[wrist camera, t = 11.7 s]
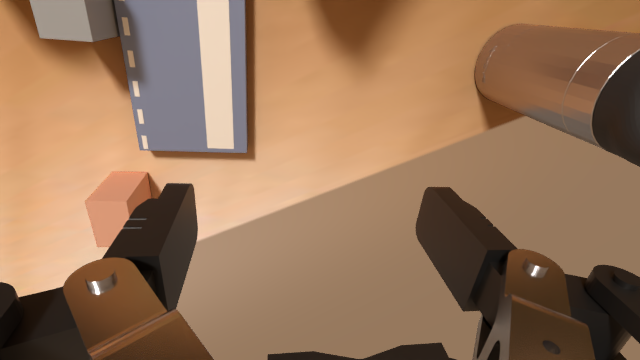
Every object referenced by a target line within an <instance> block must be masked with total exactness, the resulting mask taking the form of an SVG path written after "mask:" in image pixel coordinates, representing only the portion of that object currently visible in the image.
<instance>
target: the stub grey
mask: <svg viewBox="0 0 640 360" xmlns="http://www.w3.org/2000/svg"><path fill="white" fill-rule="evenodd" d="M30 4H31V7H32V11H33V15H34V18H35V22H36V25H37V29H38V33H39V36H40V38H45V39H58V40H72V41H86V42H95V41H100V40H104V39H109V38H113V37H118V36H120V33H119V27H118V21H117V15H116V10H115V4H114V0H30Z"/></svg>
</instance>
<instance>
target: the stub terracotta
mask: <svg viewBox="0 0 640 360" xmlns="http://www.w3.org/2000/svg"><path fill="white" fill-rule="evenodd" d="M147 199H152V197H151V191H150V185H149V179H148V174H147V172H112V173H111V174H110V175H109V176H108V177H107V178H106V179H105V180H104V181H103V182H102V183H101V185H100V186H99V187H98V188H97V189H96V190H95V191H94V192H93V193H92V194H91V195H90V196H89V197H88V199H87V200H86V201H85V204H86V207H87V211H88V215H89V218H90V222H91V226H92V229H93V233H94V236H95V240H96V244H97V247H110V246H111V244H112V243H113V241H114V240H115V238H116V237H117V235H118V234H119V232H120V231H121V229H123V226H124V224H125V223H126V221H127V220H129V217H130V215H131V214H132V212H133V211H134V209H135V208H136V207H137V206H138V205H140V204H141V203H143V202H144V201H146V200H147Z"/></svg>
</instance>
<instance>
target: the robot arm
mask: <svg viewBox="0 0 640 360" xmlns="http://www.w3.org/2000/svg"><path fill="white" fill-rule="evenodd" d="M475 81H476V85H477V87H478V89H479V91H480V92H481V94H482V95H483V96H484V97H486V98H488V99H489V100H491V101H494V102H496V103H498V104H501V105H503V106H505V107H507V108H509V109H512V110H514V111H516V112H519V113H521V114H523V115H525V116H528V117H530V118H533V119H535V120H537V121H539V122H542V123H544V124H546V125H549V126H551V127H553V128H556V129H558V130H560V131H562V132H565V133H567V134H570V135H572V136H574V137H576V138H579V139H581V140H584V141H586V142H589V143H590V144H593V145H595V146H597V147H600V148H602V149H604V150H606V151H608V152H611V153H613V154H615V155H618V156H620V157H622V158H624V159H626V160H627V161H629V162H631V163H633V164H635V165H637V166H639V167H640V33H627V32H615V31H603V30H590V29H578V28H566V27H553V26H542V25H529V24H516V25H511V26H509V27H506V28H504V29H502V30H501V31H499V32H497V33H496V34H495V35H494V36H493V37H492V38H491V39H490V40H489V41H488V42H487V43H486V45H485V46H484V47H483V49H482V51H481V53H480V54H479V57H478V60H477V62H476V68H475ZM197 231H198V226H197V215H196V205H195V194H194V187H193V185H192V184H178V183H168V184H166V186H165V187H164V189H163V191H162V193H161V194H160V196H159V198H158V199H147V200H146V201H144V202H143V203H141V204H140V205H138V206H137V207H136V208H135V209H134V211H133V212H132V214H131V215H130V217H129V220H127V221H126V223H125V224H124V226H123V229H121V231H120V232H119V234H118V235H117V237H116V238H115V240H114V241H113V243H112V244H111V246H110V247H109V249H108V250H107V252H106V253H105V255H104V256H103V258H102V259H100V260H96V261H93V262H91V263H88V264H86V265H84V266H82V267H81V268H79V269H77V270H76V271H75V272H74V273H72V274H71V275H70V276H69V277H68V279H67V280H66V281H65V283H64V286H63V287H60V288H56V289H52V290H48V291H44V292H40V293H35V294H31V295H27V296H23V297H18V295H17V293H16V291H15V289H14V288H13V286H11V285H9V284H7V283H2V282H0V360H214V359H213V357H212V356H211V355H210V353H209V352H208V351H207V349H206V348H205V347H204V345H203V344H202V342H201V341H200V340H199V338H198V337H197V336H196V334H195V333H194V332H193V330H192V329H191V327H190V326H189V325H188V323H187V322H186V321H185V319H184V318H183V317H182V315H181V314H180V313H179V312H178V311H177V310H176V307H177V303H178V300H179V296H180V293H181V290H182V287H183V284H184V280H185V277H186V274H187V271H188V267H189V264H190V261H191V258H192V254H193V251H194V248H195V244H196V240H197ZM416 235H417V238H418V240H419V242H420V244H421V245H422V247H423V249H424V250H425V252H426V253H427V255H428V256H429V258H430V260H431V261H432V263H433V264H434V266H435V267H436V269H437V271H438V272H439V274H440V275H441V277H442V279H443V280H444V282H445V283H446V285H447V286H448V288H449V290H450V291H451V293H452V295H453V296H454V298H455V299H456V301H457V302H458V304H459V306H460V307H461V309H462V310H463V311H480V312H481V313H482V315H481V318H480V320H479V323H478V328H477V335H476V341H475V347H474V353H473V359H472V360H626V358H624V356H623V355H622V354H621V353H620V350H621V349H622V347H623V346H624V345H625V344H626V342H627V341H628V340H629V338H630V337H631V336H633V337H634V338H635V339H636V340H637V341H638V342H639V343H640V277H638V276H636V275H634V274H633V273H630V272H628V271H626V270H623V269H621V268H617V267H614V266H609V265H598V266H595V267H594V268H593V270H592V272H591V273H590V275H589V277H588V278H583V277H578V276H573V275H568V274H564V272H563V270H562V269H561V268H560V266H558V265H557V264H556V263H555V262H554V261H552V260H551V259H549V258H547V257H546V256H544V255H541V254H539V253H537V252H534V251H530V250H525V249H517V248H516V247H515V246H514V245H513V244H512V243H511V242H510V241H509V240H508V239H507V238H506V237H505V236H504V235H503V234H502V233H501V232H500V231H499V230H498V229H497V228H496V227H493V224H492V223H491V222H490V221H489V220H488V219H486V217H485V216H484V215H483V214H482V213H481V212H480V211H479V210H478V209H477V208H475V207H473V206H472V205H470V204H468V203H467V202H465V201H463V200H462V199H461V198H460V197H459V196H458V195H457V194H456V193H455V192H454V191H453V190H452V189H451V188H450V187H428V188H427V189H426V190H425V192H424V195H423V199H422V203H421V207H420V211H419V215H418V218H417V222H416ZM268 360H456V359H452V358H449V357H448V355H447V353H446V351H445V349H444V347H443V345H442V343H430V344H415V345H401V346H398V347H396V348H393V349H390V350H387V351H384V352H382V353H379V354H376V355H373V356H370V357H368V358H364V359H354V358H348V357H342V356H337V355H331V354H325V353H319V352H314V351H312V352H298V353H282V354H268Z"/></svg>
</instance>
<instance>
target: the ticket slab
mask: <svg viewBox="0 0 640 360" xmlns="http://www.w3.org/2000/svg"><path fill="white" fill-rule="evenodd" d="M114 4H115V10H116V15H117V21H118V27H119V33H120V38H121V44H122V50H123V56H124V62H125V67H126V73H127V79H128V85H129V90H130V96H131V102H132V108H133V114H134V119H135V125H136V131H137V137H138V142H139V148H140V150H151V151H189V152H227V153H247V149H248V127H247V55H246V0H114Z"/></svg>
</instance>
